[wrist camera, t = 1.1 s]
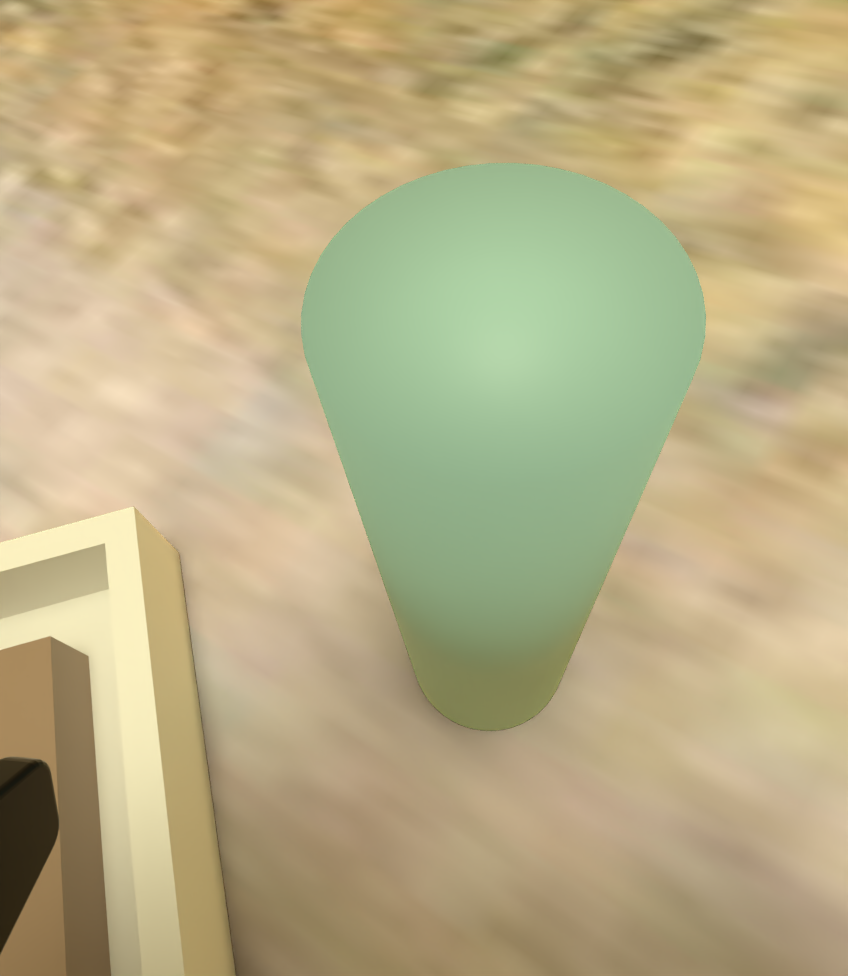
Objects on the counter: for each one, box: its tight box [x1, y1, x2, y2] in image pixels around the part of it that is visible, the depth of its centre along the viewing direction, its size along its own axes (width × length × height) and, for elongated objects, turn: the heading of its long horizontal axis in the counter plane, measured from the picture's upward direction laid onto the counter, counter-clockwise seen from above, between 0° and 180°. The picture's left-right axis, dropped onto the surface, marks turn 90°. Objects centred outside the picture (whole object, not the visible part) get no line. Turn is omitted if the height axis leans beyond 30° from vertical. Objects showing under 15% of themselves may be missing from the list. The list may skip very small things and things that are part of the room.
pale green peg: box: [301, 163, 706, 731], centre depth 14 cm, size 4×4×14 cm
